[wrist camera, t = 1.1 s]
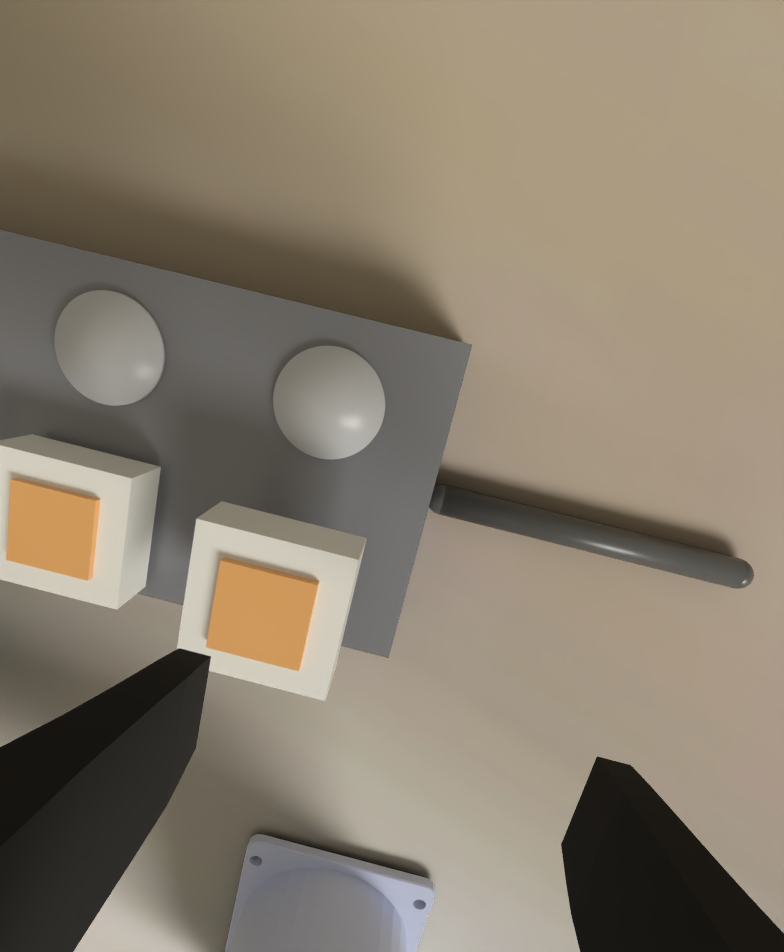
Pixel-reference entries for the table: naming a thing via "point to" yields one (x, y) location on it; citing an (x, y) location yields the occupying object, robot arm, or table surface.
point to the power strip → (263, 418)
